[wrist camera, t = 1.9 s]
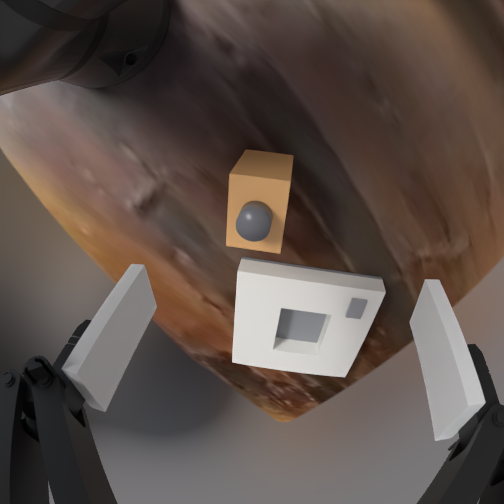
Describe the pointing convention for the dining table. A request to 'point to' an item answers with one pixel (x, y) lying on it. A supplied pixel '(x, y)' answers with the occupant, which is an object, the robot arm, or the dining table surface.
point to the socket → (302, 316)
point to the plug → (258, 200)
